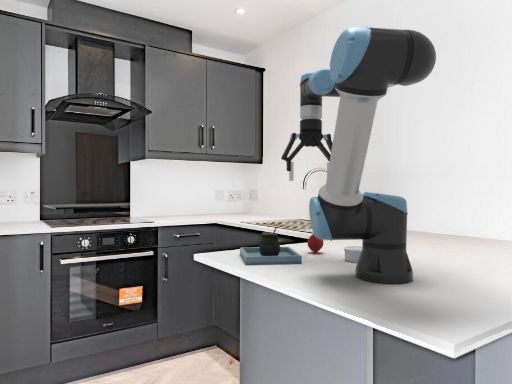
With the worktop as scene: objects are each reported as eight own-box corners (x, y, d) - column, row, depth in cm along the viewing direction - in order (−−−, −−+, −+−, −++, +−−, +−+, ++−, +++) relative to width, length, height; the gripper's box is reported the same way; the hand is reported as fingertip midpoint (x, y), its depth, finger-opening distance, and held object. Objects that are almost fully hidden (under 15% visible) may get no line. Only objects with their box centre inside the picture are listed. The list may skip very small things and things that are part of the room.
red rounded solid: (318, 255, 142) (318, 232, 142) (304, 253, 146) (304, 231, 145) (325, 252, 147) (326, 231, 146) (312, 251, 150) (312, 230, 150)
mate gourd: (254, 257, 133) (255, 227, 132) (264, 254, 139) (265, 225, 139) (274, 259, 129) (274, 228, 129) (283, 255, 136) (284, 226, 136)
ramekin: (372, 264, 128) (372, 250, 128) (344, 262, 129) (344, 249, 129) (369, 258, 136) (369, 246, 136) (343, 257, 138) (343, 245, 138)
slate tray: (301, 263, 127) (301, 255, 127) (246, 265, 124) (246, 257, 124) (288, 253, 145) (288, 246, 145) (240, 254, 142) (240, 247, 142)
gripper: (341, 122, 142) (340, 181, 142) (273, 120, 138) (272, 180, 138) (349, 119, 135) (348, 181, 135) (278, 116, 130) (277, 180, 131)
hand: (310, 181), depth 137 cm, fingers open, 13 cm apart
